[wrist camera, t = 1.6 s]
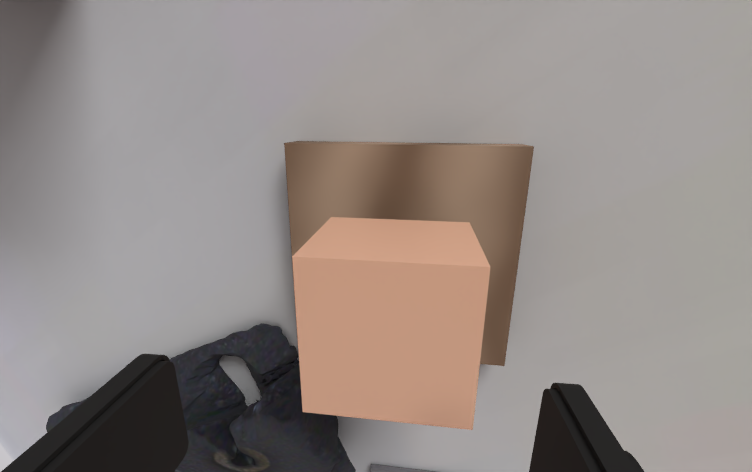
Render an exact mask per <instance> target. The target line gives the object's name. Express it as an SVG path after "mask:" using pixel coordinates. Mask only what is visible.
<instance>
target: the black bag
mask: <svg viewBox="0 0 752 472" xmlns="http://www.w3.org/2000/svg"><path fill="white" fill-rule="evenodd" d="M223 355H229V356H238V357H240V358H242V359H243V360H244V361H245V362H246V363H247V367H248V369H249V370H250V372H251V374H252V376H253V378H254V379H255V380H254V381H256V382H257V386H258V388H259V389H260V393H261V396H262V397H261V400H260V401H258V400H256V401H257V402H256V403H254V404H251V405H250V406H249V407H248V406H247V405H246V404H245V397H244V395H243V394H242V392H241V391H240V390H239V388H238V387H237V386H236V384H235V383H234V382H233V381H232V380H231V379H230V378H229V377H228V375H227V374H226V373H225V372H224V370H223V369H222V367H221V366H220V365H219V360H220V358H221V357H222V356H223ZM297 358H298V354H297V351H296V348H295V347H294V346H289V344H288V341H287V338H286V337H285V336H284V335H283V334H282V330H281V329H280V328H279V327H276V326H271V325H268V324H260V325H256V326H254V327H252V328H251V329H249V330H248V331H240V332H236V333H232V334H230V335H229V336H227V337H226V338H224V339H220V340H217V341H215V342H213V343H209V344H206V345H203V346H201V347H199V348H195V349H192V350H189V351H187V352H185V353H184V354H180V355H177V356H176V357H173V358H171V359H170V362H172V363H173V364H174V366H175V371H176V377H177V382H178V387H179V393H180V398H181V403H182V409H183V414H184V419H185V424H186V430H187V435H188V440H189V445H188V450H187V453H186V455H185V457H184V459H183V460H182V461H181V463H180V464H179V466H178V467H177V469H176V470H175V472H355V468H354V466H353V465H352V463H351V462H350V460H349V458H348V456H347V454H346V451H345V449H344V447H343V446H342V444H341V442H340V440H339V437H338V419H337V417H336V415H326V414H317V413H307V412H303V410H302V395H301V380H300V365H299V360H297ZM293 361H295V362H294V363H291V362H293ZM290 363H291V364H290ZM294 364H296V365H295V366H294ZM87 399H88V398H87ZM87 399H86V400H87ZM86 400H84V401H86ZM84 401H81V402H77V403H73V404H69V405H66V406H63V407H62V408H61V409H60V411H58V412H56V413H55V414H53V415H51V416H50V417H49V419H48V422H47V425H46V429H47V432H49V431H50V430H51V429H52V428H54V427H55V426H56V425H57V424H58V423H60V422H61V421H62V420H63V419H64V418H65V417H67V416H68V415H69V414H70V413H71V412H73V411H74V410H75V409H76V408H77V407H79V406H80V405H81V404H82V403H83V402H84Z"/></svg>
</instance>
